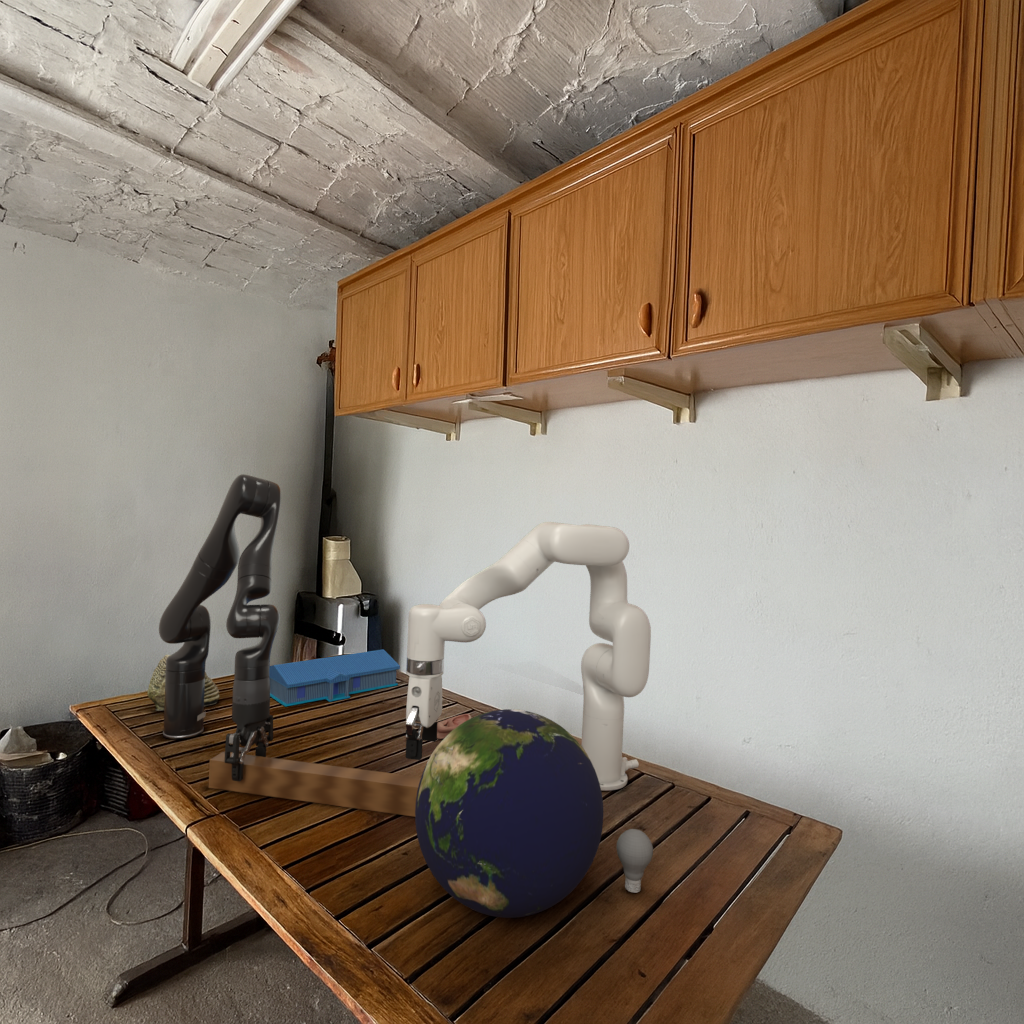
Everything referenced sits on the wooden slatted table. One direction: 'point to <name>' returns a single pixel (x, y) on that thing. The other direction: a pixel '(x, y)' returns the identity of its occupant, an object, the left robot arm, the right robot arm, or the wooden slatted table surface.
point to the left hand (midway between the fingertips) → (249, 772)
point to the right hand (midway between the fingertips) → (421, 749)
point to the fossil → (158, 687)
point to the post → (319, 784)
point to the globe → (509, 813)
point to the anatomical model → (450, 725)
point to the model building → (332, 677)
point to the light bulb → (634, 857)
